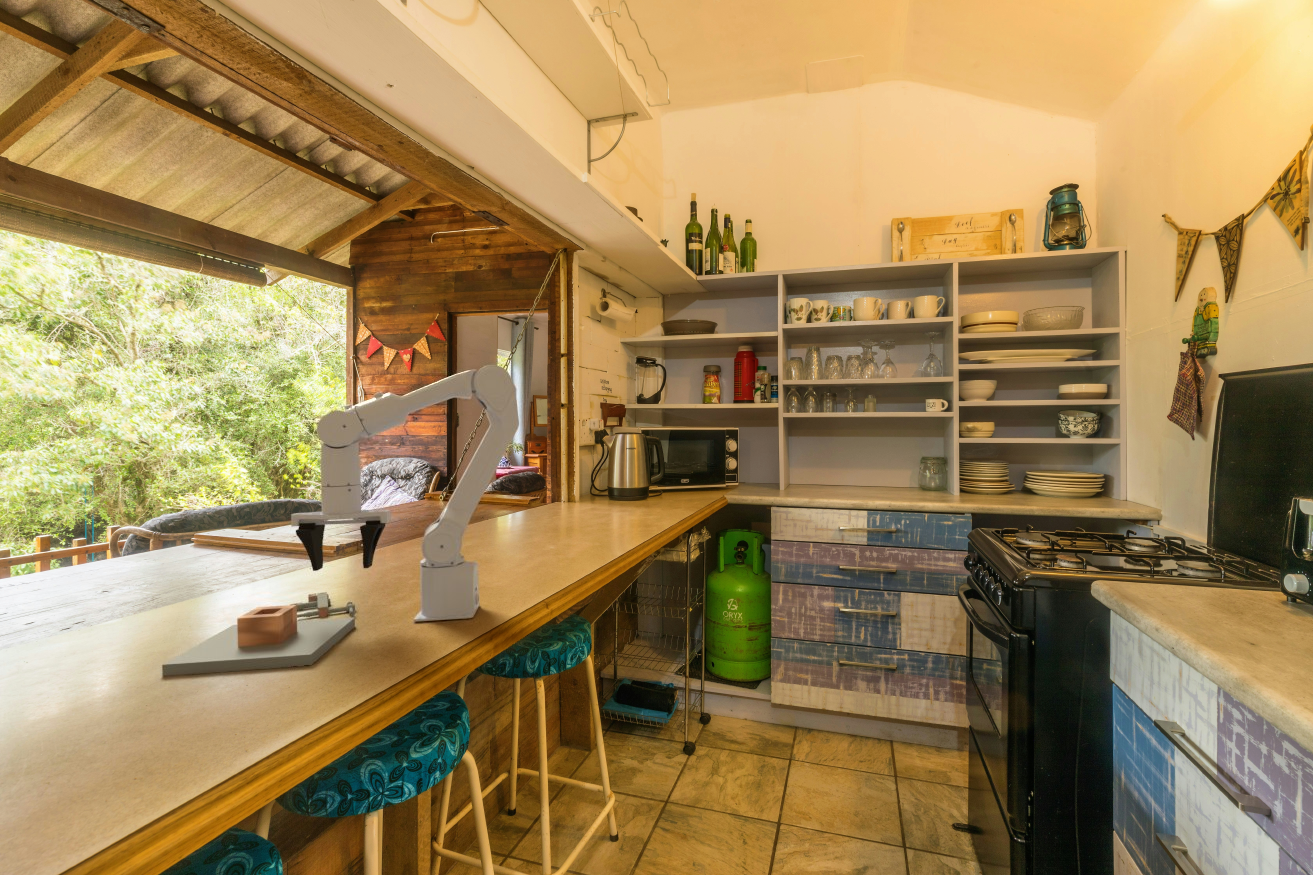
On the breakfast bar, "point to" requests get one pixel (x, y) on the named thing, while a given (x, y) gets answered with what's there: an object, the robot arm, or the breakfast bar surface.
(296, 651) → the pin board
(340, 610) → the clamp
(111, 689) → the breakfast bar surface
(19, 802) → the breakfast bar surface
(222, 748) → the breakfast bar surface
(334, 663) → the breakfast bar surface
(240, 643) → the collar block
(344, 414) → the robot arm
